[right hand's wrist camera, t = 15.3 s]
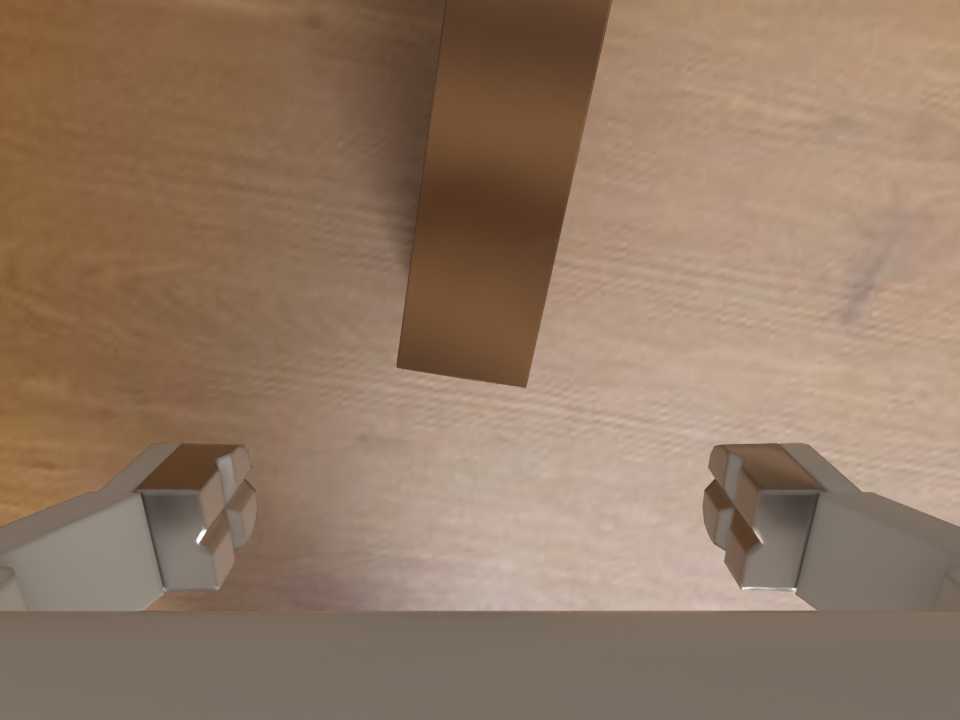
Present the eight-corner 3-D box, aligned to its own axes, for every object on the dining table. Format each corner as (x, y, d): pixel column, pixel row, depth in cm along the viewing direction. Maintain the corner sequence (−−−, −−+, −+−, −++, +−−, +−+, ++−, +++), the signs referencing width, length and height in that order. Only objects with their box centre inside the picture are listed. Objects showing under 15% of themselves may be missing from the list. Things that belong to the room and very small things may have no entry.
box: (513, 326, 36) (526, 389, 27) (418, 310, 36) (395, 368, 26) (617, -177, 28) (691, -354, 18) (492, -205, 27) (500, -401, 18)
